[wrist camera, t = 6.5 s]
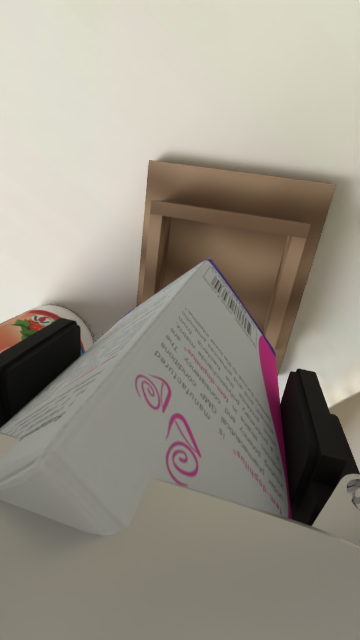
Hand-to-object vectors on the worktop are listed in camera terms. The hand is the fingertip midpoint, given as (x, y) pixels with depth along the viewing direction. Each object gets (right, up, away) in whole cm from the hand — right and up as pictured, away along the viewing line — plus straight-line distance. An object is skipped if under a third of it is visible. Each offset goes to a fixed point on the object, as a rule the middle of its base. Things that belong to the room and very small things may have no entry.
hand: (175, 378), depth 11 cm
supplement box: (+1, +1, +4) cm, 4 cm away
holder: (+4, +6, +17) cm, 19 cm away
